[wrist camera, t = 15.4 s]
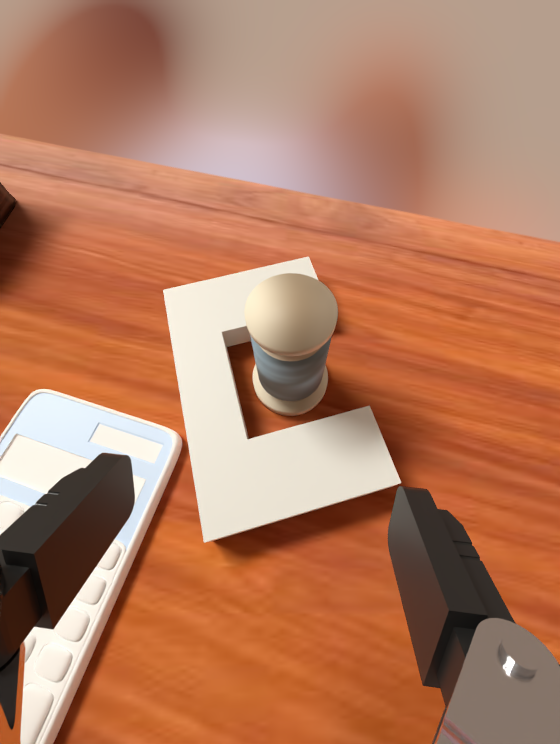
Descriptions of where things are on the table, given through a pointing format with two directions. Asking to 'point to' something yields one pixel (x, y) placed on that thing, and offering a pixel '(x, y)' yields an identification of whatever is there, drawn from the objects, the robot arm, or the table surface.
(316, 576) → the table surface
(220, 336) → the notched board
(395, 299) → the table surface
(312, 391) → the disc
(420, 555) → the robot arm
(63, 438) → the calculator
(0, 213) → the manual coffee grinder
